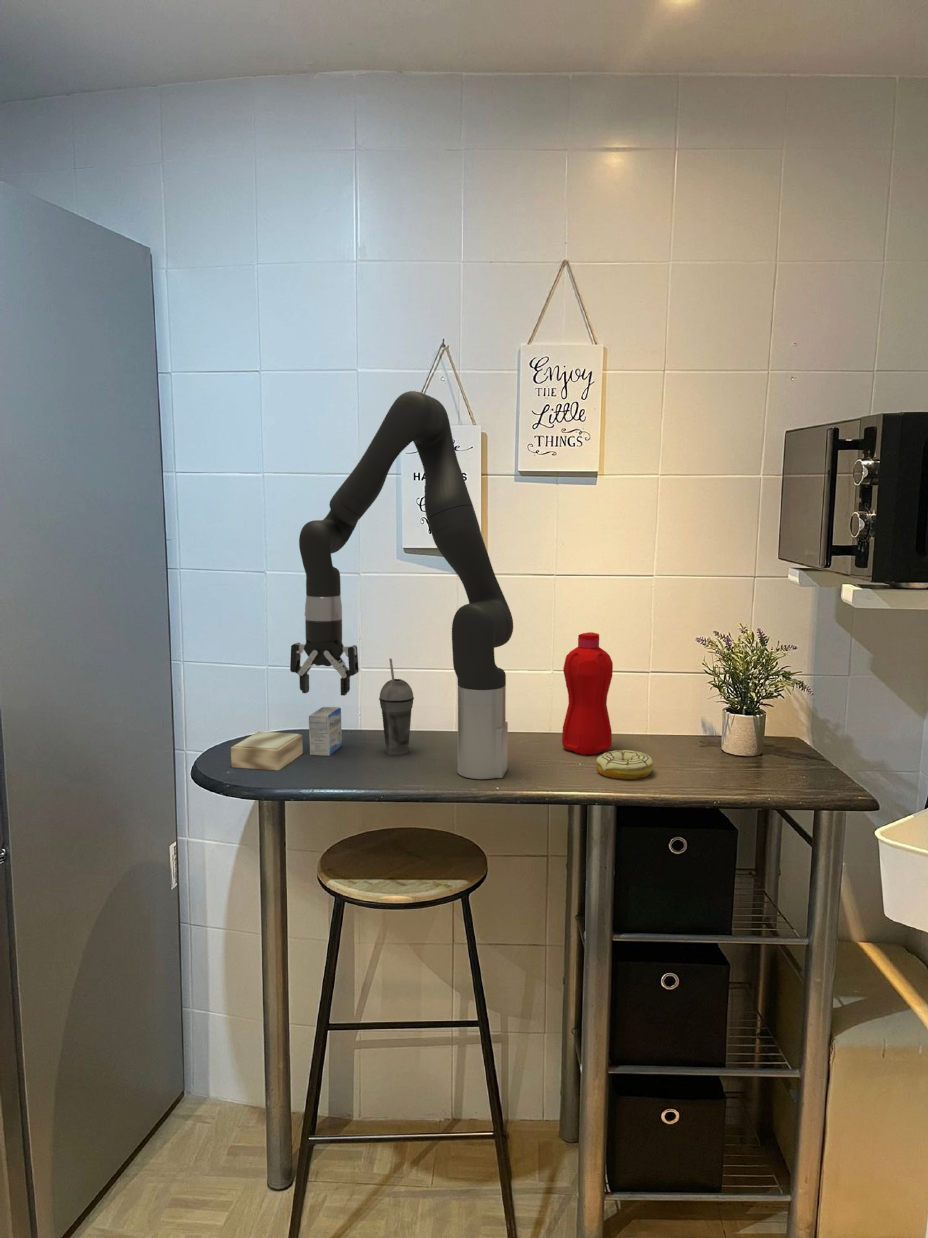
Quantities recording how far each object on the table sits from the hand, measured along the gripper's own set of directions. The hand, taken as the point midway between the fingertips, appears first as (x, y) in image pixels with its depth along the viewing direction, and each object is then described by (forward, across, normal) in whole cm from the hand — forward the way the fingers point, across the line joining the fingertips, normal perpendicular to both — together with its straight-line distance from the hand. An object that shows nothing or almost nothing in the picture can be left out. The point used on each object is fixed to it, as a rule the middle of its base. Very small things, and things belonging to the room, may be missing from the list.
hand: (324, 693), depth 183 cm
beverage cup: (+12, -15, -2) cm, 20 cm away
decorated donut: (+12, -62, +2) cm, 63 cm away
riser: (+12, +9, +9) cm, 18 cm away
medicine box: (+12, 0, 0) cm, 13 cm away
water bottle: (+12, -53, -13) cm, 56 cm away
